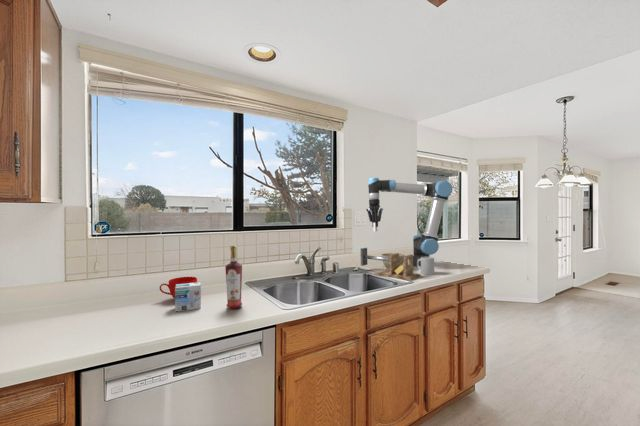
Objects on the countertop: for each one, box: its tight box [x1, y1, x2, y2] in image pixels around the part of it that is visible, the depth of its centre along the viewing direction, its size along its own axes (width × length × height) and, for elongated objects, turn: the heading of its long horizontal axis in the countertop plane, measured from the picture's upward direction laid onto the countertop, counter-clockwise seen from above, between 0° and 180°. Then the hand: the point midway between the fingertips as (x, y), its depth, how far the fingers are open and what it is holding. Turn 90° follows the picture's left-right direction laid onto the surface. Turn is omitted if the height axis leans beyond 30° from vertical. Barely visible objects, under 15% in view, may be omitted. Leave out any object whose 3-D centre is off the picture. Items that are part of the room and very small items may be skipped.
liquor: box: [225, 244, 243, 310], centre depth 135 cm, size 7×7×28 cm
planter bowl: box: [381, 252, 406, 270], centre depth 215 cm, size 16×16×11 cm
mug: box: [416, 256, 435, 276], centre depth 201 cm, size 12×8×11 cm
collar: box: [395, 264, 404, 275], centre depth 193 cm, size 3×7×7 cm
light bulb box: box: [174, 281, 202, 313], centre depth 135 cm, size 11×7×11 cm, turn 113°
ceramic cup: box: [159, 276, 198, 300], centre depth 148 cm, size 13×17×10 cm
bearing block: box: [373, 252, 422, 281], centre depth 195 cm, size 26×14×14 cm, turn 47°
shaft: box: [360, 247, 396, 267], centre depth 205 cm, size 25×6×12 cm, turn 47°
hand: (375, 231), depth 217 cm, fingers closed
